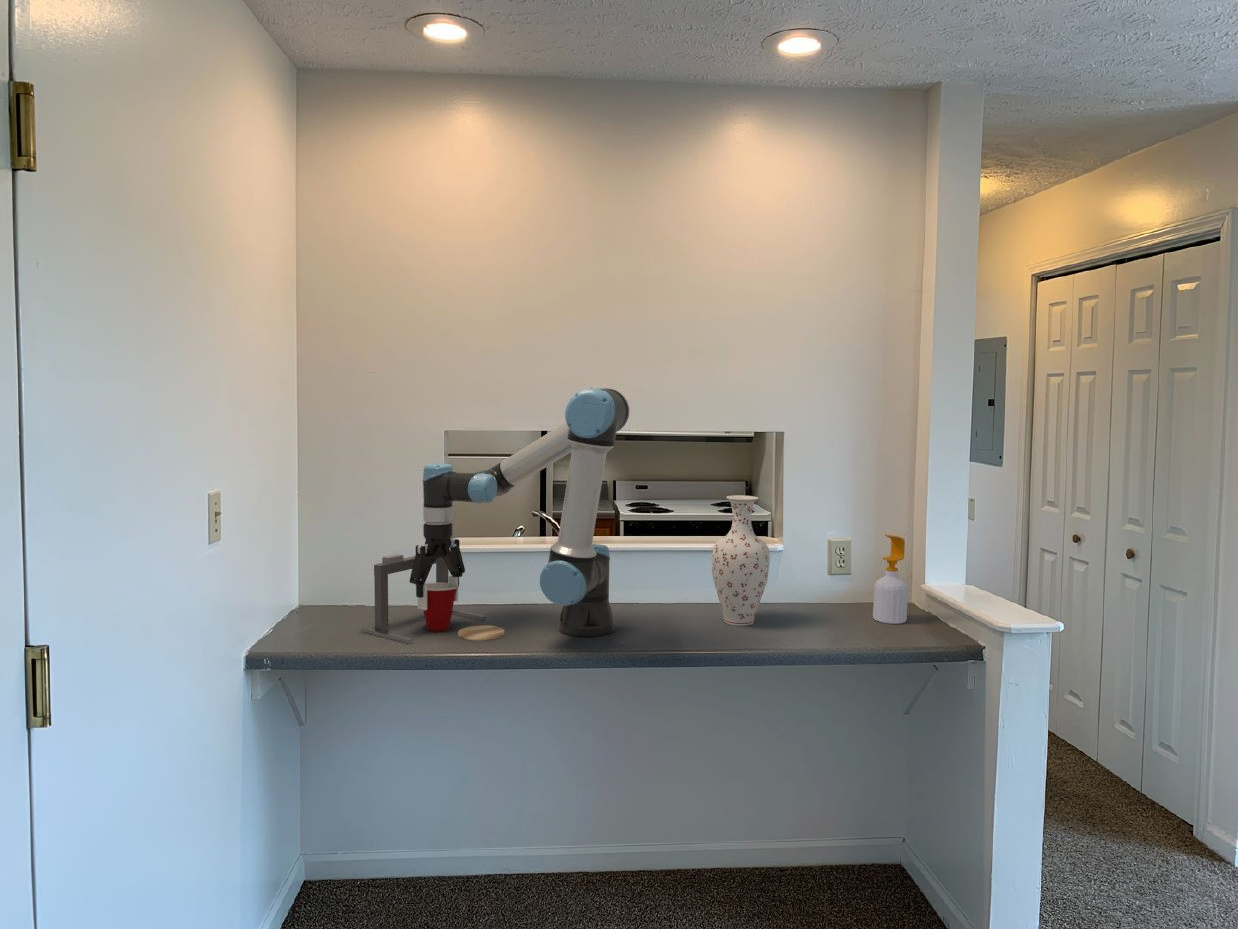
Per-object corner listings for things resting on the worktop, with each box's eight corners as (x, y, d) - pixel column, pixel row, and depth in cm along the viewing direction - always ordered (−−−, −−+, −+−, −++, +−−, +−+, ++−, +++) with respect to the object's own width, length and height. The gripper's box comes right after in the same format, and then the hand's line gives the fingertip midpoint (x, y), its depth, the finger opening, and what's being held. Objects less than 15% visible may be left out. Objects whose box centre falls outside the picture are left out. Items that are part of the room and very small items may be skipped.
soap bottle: (866, 619, 243) (870, 533, 241) (884, 614, 250) (887, 530, 247) (895, 626, 237) (899, 538, 235) (912, 620, 243) (916, 535, 241)
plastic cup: (462, 623, 234) (462, 579, 232) (454, 634, 223) (454, 589, 222) (422, 622, 234) (422, 579, 232) (413, 634, 223) (412, 588, 222)
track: (485, 619, 238) (485, 615, 238) (409, 643, 214) (409, 640, 214) (438, 609, 247) (438, 606, 247) (361, 631, 224) (360, 628, 224)
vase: (699, 617, 243) (702, 494, 240) (748, 611, 250) (751, 492, 247) (728, 632, 229) (732, 502, 225) (779, 626, 235) (783, 499, 232)
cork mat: (513, 632, 226) (514, 630, 225) (482, 643, 216) (482, 641, 215) (479, 625, 232) (479, 622, 232) (448, 635, 222) (448, 633, 222)
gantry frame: (448, 612, 243) (448, 545, 241) (381, 632, 222) (380, 559, 221) (442, 611, 244) (441, 544, 242) (374, 631, 224) (373, 558, 222)
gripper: (458, 515, 237) (458, 594, 239) (394, 526, 218) (395, 611, 220) (478, 518, 233) (478, 598, 235) (415, 529, 214) (415, 616, 216)
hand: (438, 604), depth 228 cm, fingers closed on plastic cup, 11 cm apart
